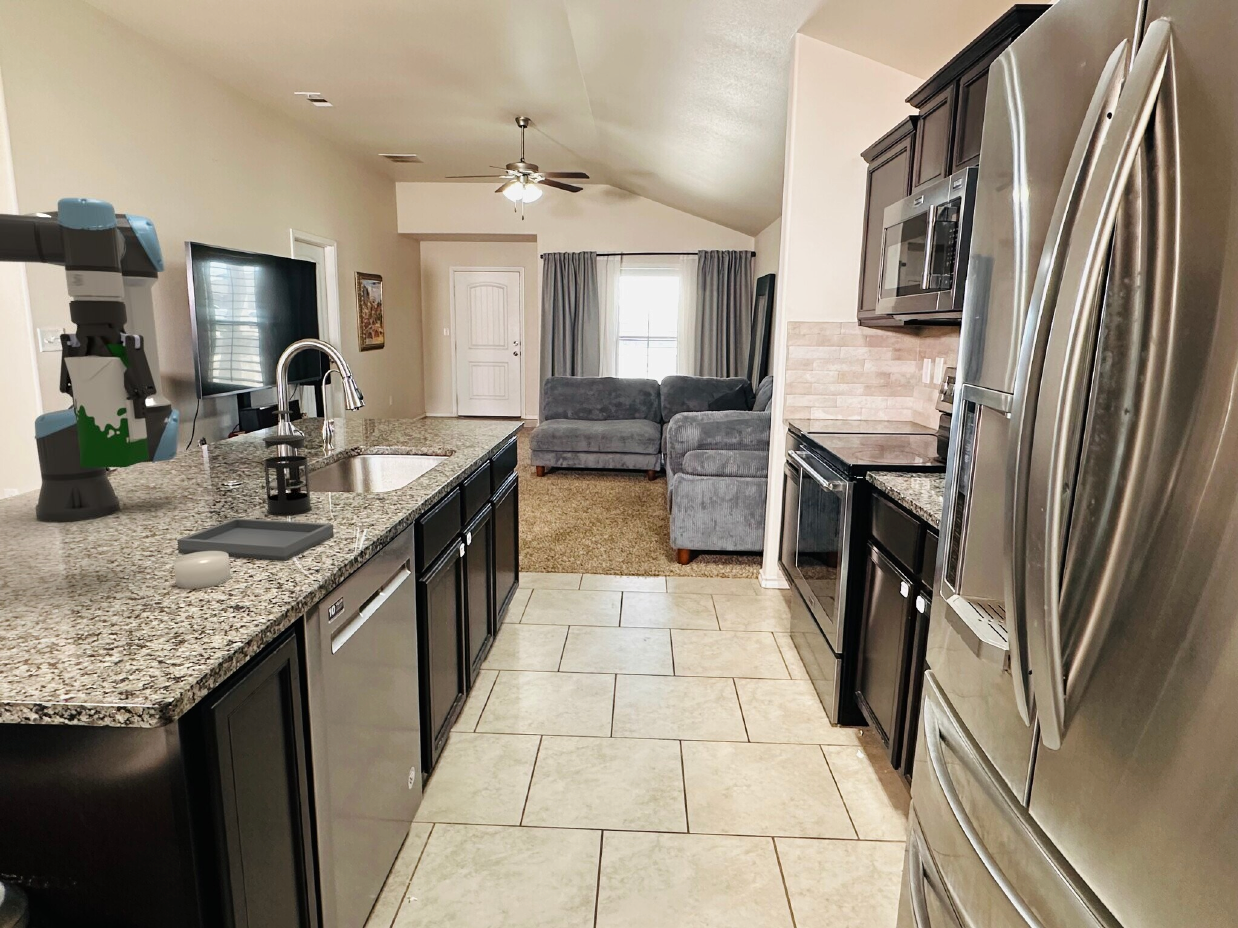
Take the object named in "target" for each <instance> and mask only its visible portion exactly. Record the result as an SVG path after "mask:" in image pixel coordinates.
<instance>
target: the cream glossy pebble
mask: <svg viewBox="0 0 1238 928" xmlns="http://www.w3.org/2000/svg"><path fill="white" fill-rule="evenodd" d="M173 567H174V577H175V584H176V587H178V588H182V589H203V588H204V589H205V588H209V587H215V586H219V585H221V584H223V583H226V582H227V581H229V580H230V579H231V578H232V577H231V568H230V556H229V555H228V553H226V552H222V551H202V552H195V553H185V554H183V555H181V556H178V557H176V558H175V559H174V560H173Z"/></svg>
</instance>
